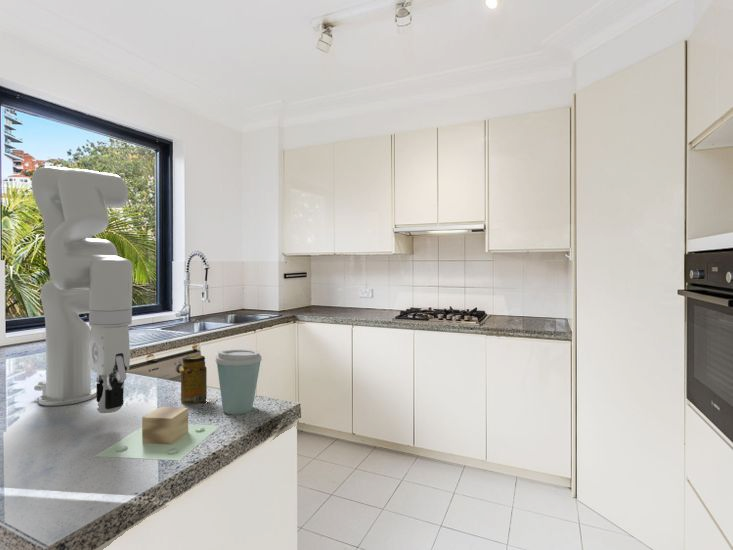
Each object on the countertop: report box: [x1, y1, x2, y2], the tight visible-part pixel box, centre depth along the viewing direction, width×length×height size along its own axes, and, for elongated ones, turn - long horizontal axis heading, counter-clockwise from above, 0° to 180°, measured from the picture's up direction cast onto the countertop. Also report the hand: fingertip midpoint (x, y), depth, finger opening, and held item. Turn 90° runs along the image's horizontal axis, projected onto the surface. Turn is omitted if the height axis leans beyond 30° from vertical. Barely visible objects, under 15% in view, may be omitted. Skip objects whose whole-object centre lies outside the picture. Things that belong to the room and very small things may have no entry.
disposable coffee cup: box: [215, 349, 263, 415], centre depth 98 cm, size 11×11×15 cm
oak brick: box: [141, 406, 189, 444], centre depth 82 cm, size 6×6×5 cm
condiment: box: [180, 354, 219, 406], centre depth 104 cm, size 7×8×12 cm
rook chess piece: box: [96, 370, 123, 414], centre depth 85 cm, size 4×4×8 cm
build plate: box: [94, 423, 221, 462], centre depth 81 cm, size 16×16×1 cm
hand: (109, 403), depth 86 cm, fingers closed on rook chess piece, 4 cm apart
